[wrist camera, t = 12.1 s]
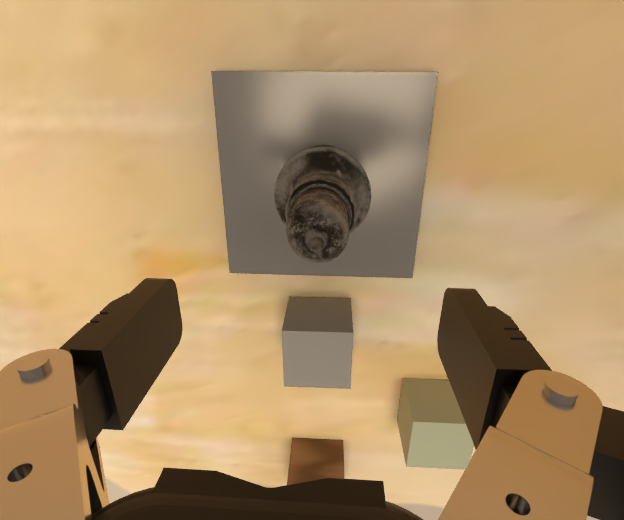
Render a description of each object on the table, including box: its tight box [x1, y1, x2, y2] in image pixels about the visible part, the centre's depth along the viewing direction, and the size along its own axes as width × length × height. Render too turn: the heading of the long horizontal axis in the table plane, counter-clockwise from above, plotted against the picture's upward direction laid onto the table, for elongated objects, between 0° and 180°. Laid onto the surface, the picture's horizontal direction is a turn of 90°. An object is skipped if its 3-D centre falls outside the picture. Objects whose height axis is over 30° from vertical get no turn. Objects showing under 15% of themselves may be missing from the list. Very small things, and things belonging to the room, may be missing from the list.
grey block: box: [282, 297, 353, 389], centre depth 30 cm, size 5×5×5 cm
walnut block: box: [287, 438, 344, 485], centre depth 36 cm, size 5×5×5 cm
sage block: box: [397, 378, 474, 469], centre depth 32 cm, size 5×5×5 cm
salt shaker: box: [274, 145, 371, 263], centre depth 21 cm, size 6×6×12 cm
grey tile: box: [211, 71, 438, 278], centre depth 27 cm, size 14×14×1 cm
